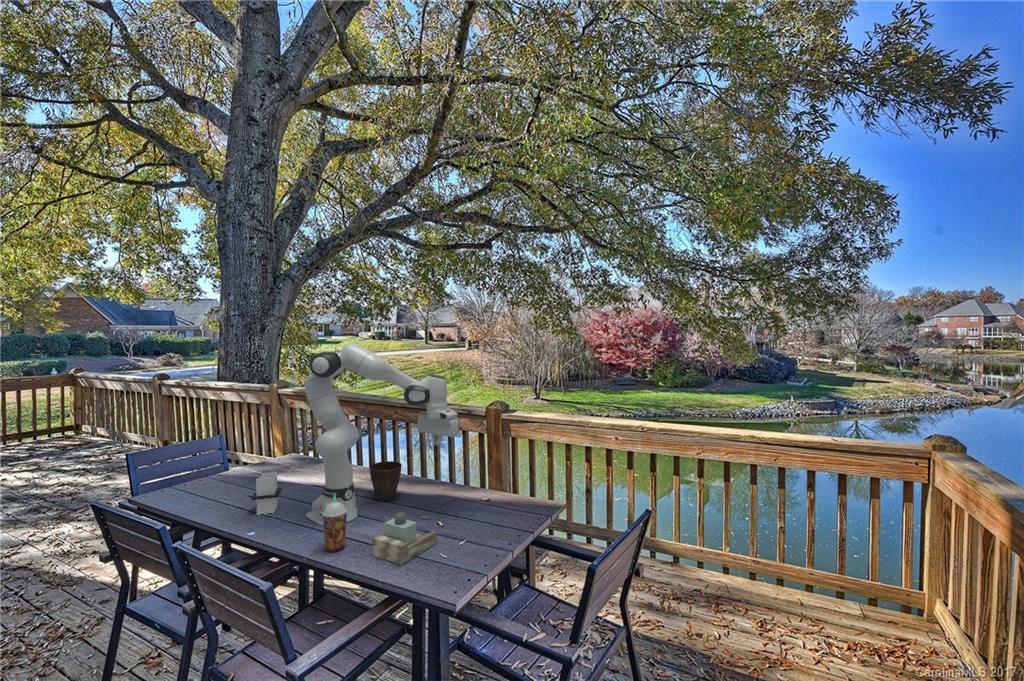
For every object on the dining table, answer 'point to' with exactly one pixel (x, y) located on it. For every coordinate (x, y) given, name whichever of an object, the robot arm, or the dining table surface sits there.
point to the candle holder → (266, 493)
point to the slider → (401, 529)
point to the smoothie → (334, 526)
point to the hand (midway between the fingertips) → (437, 444)
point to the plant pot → (385, 479)
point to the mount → (401, 547)
